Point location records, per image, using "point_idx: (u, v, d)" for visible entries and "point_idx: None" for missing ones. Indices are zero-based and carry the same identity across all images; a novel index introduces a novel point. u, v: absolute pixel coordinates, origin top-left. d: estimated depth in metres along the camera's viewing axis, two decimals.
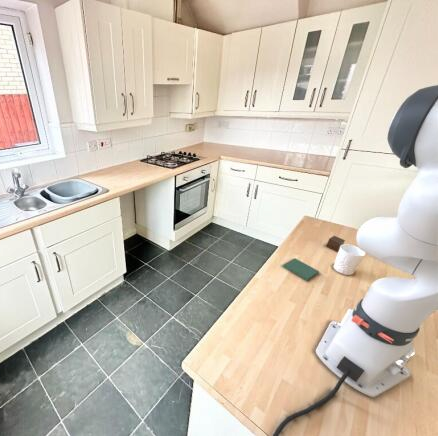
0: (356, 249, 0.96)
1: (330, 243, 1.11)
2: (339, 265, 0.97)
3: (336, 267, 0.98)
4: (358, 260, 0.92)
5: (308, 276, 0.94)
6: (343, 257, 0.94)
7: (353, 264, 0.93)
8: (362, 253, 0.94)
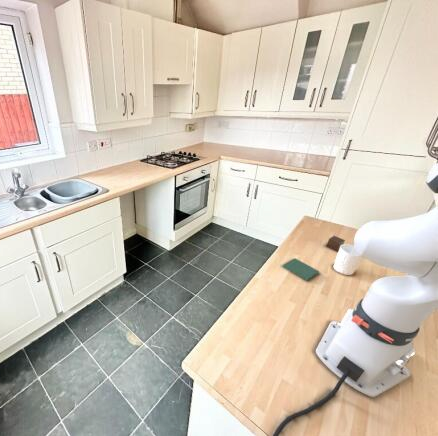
0: None
1: (330, 243, 1.11)
2: (339, 265, 0.97)
3: (336, 267, 0.98)
4: (358, 260, 0.92)
5: (308, 276, 0.94)
6: (343, 257, 0.94)
7: (353, 264, 0.93)
8: None
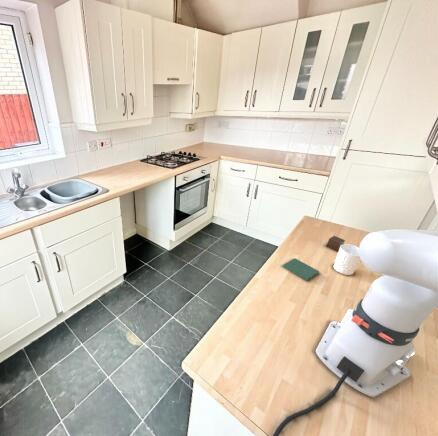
0: (356, 249, 0.96)
1: (330, 243, 1.11)
2: (339, 265, 0.97)
3: (336, 267, 0.98)
4: (358, 260, 0.92)
5: (308, 276, 0.94)
6: (343, 257, 0.94)
7: (353, 264, 0.93)
8: None
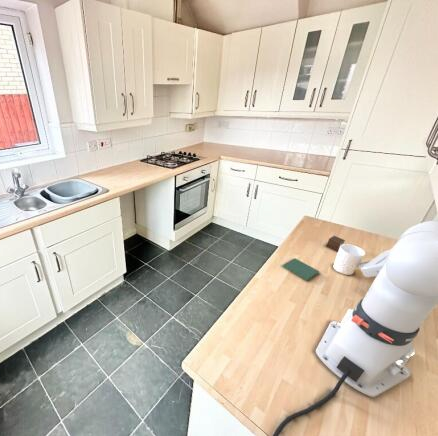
0: (356, 249, 0.96)
1: (330, 243, 1.11)
2: (339, 265, 0.97)
3: (336, 267, 0.98)
4: (358, 260, 0.92)
5: (308, 276, 0.94)
6: (343, 256, 0.94)
7: (353, 264, 0.93)
8: (362, 253, 0.94)
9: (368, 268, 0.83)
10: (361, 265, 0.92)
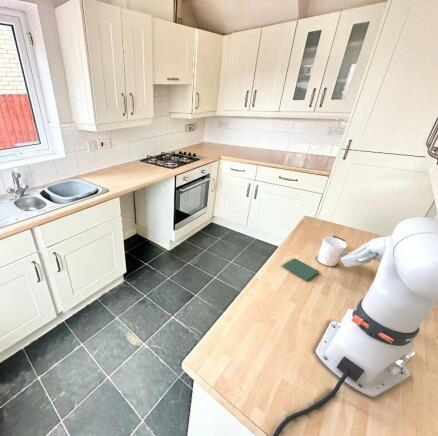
0: (337, 241, 1.01)
1: None
2: (323, 257, 1.01)
3: (320, 259, 1.03)
4: (340, 251, 0.97)
5: (308, 276, 0.94)
6: (327, 249, 0.99)
7: (336, 256, 0.98)
8: (343, 244, 0.99)
9: (347, 258, 0.88)
10: (343, 256, 0.97)
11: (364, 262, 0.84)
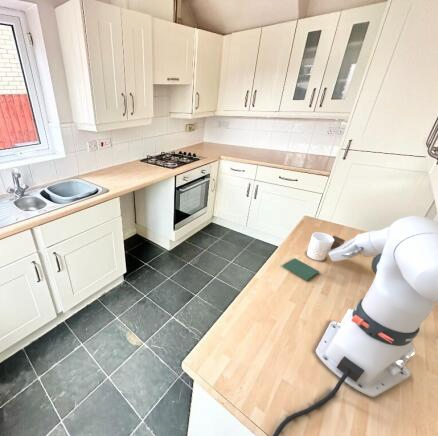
0: (326, 236, 1.05)
1: None
2: (312, 252, 1.04)
3: (309, 254, 1.06)
4: (328, 246, 1.00)
5: (308, 276, 0.94)
6: (315, 244, 1.02)
7: (324, 250, 1.01)
8: (331, 239, 1.02)
9: (334, 253, 0.91)
10: (331, 251, 1.00)
11: (350, 256, 0.87)
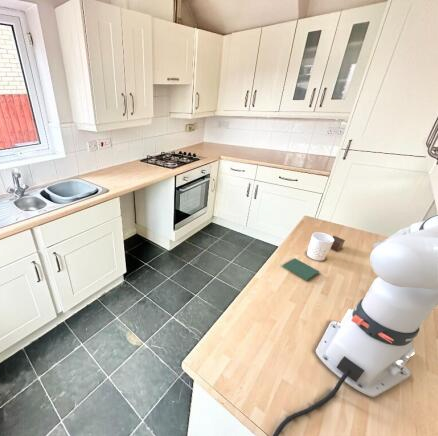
0: (326, 236, 1.05)
1: None
2: (312, 252, 1.04)
3: (309, 254, 1.06)
4: (328, 246, 1.00)
5: (308, 276, 0.94)
6: (315, 244, 1.02)
7: (324, 250, 1.01)
8: (331, 239, 1.02)
9: None
10: (376, 244, 0.86)
11: None
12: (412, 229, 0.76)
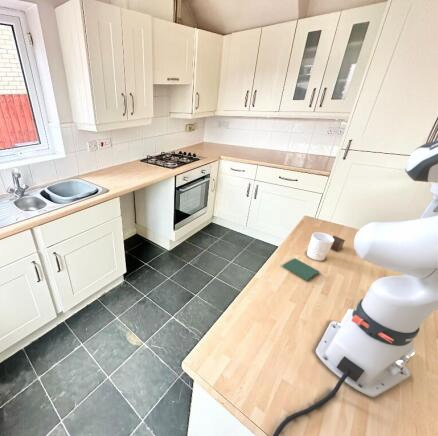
0: (326, 236, 1.05)
1: None
2: (312, 252, 1.04)
3: (309, 254, 1.06)
4: (328, 246, 1.00)
5: (308, 276, 0.94)
6: (315, 244, 1.02)
7: (324, 250, 1.01)
8: (331, 239, 1.02)
9: (423, 216, 0.67)
10: None
11: None
12: (433, 191, 0.69)
